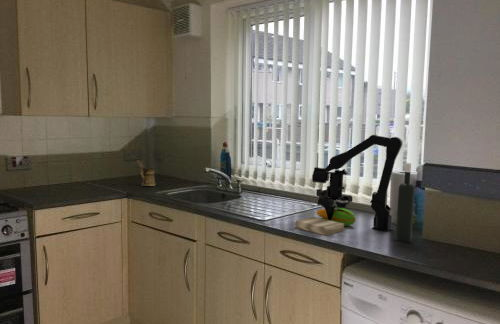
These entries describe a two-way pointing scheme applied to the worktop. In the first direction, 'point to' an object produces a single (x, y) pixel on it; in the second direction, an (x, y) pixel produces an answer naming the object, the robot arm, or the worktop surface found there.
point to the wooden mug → (146, 175)
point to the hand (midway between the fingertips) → (334, 219)
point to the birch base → (319, 225)
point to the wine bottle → (405, 208)
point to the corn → (339, 216)
